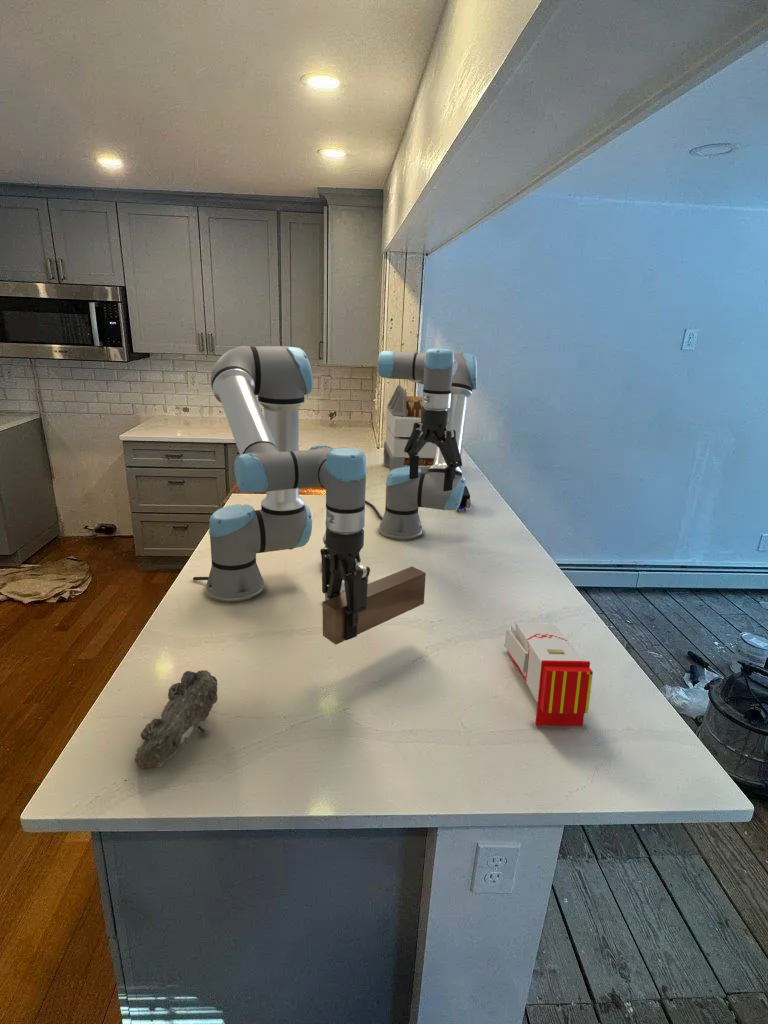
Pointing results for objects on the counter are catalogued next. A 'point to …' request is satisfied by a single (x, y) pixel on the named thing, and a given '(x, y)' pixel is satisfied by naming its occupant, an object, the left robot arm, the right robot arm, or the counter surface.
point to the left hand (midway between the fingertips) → (342, 631)
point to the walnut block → (376, 603)
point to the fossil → (178, 718)
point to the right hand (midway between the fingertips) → (430, 484)
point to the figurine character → (465, 500)
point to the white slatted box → (405, 431)
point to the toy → (551, 672)
